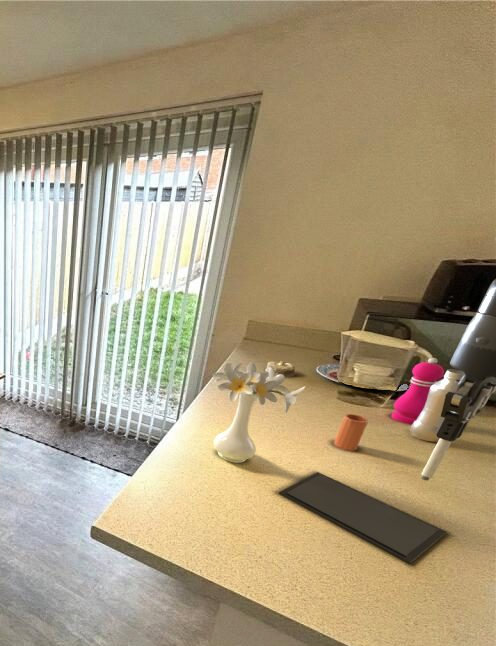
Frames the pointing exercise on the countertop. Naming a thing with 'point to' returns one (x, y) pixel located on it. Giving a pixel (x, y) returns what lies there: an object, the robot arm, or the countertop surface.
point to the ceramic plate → (332, 372)
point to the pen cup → (350, 432)
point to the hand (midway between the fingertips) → (447, 437)
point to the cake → (281, 368)
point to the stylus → (435, 458)
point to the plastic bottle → (434, 408)
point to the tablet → (365, 516)
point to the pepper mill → (417, 391)
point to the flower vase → (247, 407)
